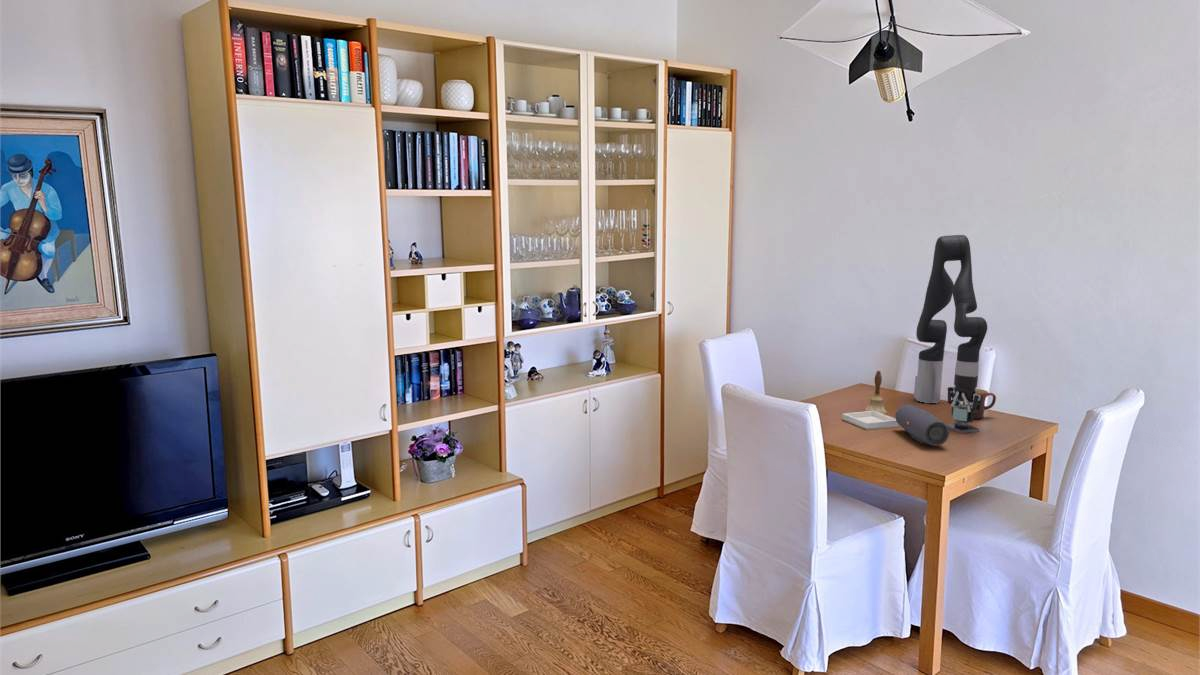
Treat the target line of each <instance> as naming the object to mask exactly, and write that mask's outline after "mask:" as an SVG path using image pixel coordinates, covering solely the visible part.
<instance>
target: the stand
mask: <svg viewBox="0 0 1200 675" xmlns="http://www.w3.org/2000/svg"><path fill="white" fill-rule="evenodd" d="M960 409H966V408H960ZM970 423H971V422H967V421H960V420H956V419H954V423H951V424H950V423H947V424H945V425H946V426H947V427H948V430H949V431H953V432H956V433H958V434H968V433H970V434H971V433H978V432H980V428H978V427H975V426H972V425H970Z"/></svg>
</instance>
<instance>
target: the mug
mask: <svg viewBox="0 0 1200 675" xmlns="http://www.w3.org/2000/svg"><path fill="white" fill-rule="evenodd" d="M975 392H976V394H978V395H982V402H981V408H980V411H975V413H974V420H980V419H979V418H981V419H982V418H984V416H985V410H989V409H991V408H993V407H994V405H995V404H996V402H997V401H996V400H997V397H996V394H995V393H992V392H988V390H985V389H981V388H975ZM989 396H992V400H991V403H990V404H989V405H986V406H985V402H986V398H987V397H989ZM969 403H971V401H970V402H969ZM962 405H963V406H966V405H965V402H963V401H962ZM970 406H971V405H970ZM976 408H977V406H976Z"/></svg>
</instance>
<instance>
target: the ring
mask: <svg viewBox="0 0 1200 675" xmlns="http://www.w3.org/2000/svg"><path fill="white" fill-rule="evenodd" d="M960 408H966V409H960ZM971 408H972V407H971ZM967 414H968V409H967V406H963V404H959V405H956V406H954V408H953V417H952V419H953V420H955V419H956V420H960V421H967Z"/></svg>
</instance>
